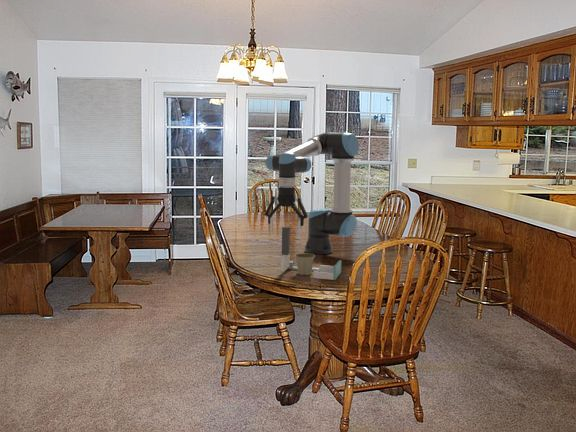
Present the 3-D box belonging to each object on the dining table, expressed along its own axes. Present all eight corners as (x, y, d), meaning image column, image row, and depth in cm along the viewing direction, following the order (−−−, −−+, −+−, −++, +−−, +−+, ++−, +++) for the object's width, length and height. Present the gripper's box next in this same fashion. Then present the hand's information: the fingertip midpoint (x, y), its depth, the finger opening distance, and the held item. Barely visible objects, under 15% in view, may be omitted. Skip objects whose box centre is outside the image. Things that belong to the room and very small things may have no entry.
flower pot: (310, 276, 280) (311, 258, 278) (291, 274, 283) (291, 256, 282) (317, 272, 288) (317, 254, 287) (298, 270, 292) (298, 252, 290)
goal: (320, 271, 291) (320, 258, 290) (340, 272, 288) (341, 260, 287) (313, 278, 277) (314, 265, 277) (335, 279, 275) (335, 266, 274)
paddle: (285, 264, 296) (286, 223, 293) (293, 265, 295) (294, 224, 292) (278, 270, 283) (279, 228, 280) (286, 271, 282) (287, 228, 279)
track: (284, 267, 296) (284, 265, 296) (319, 270, 291) (319, 268, 291) (283, 268, 294) (283, 266, 294) (318, 271, 290) (318, 269, 289)
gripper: (258, 186, 281) (257, 231, 284) (311, 188, 275) (310, 235, 278) (263, 184, 288) (262, 229, 292) (314, 187, 282) (313, 232, 285)
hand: (285, 232), depth 285 cm, fingers open, 13 cm apart
